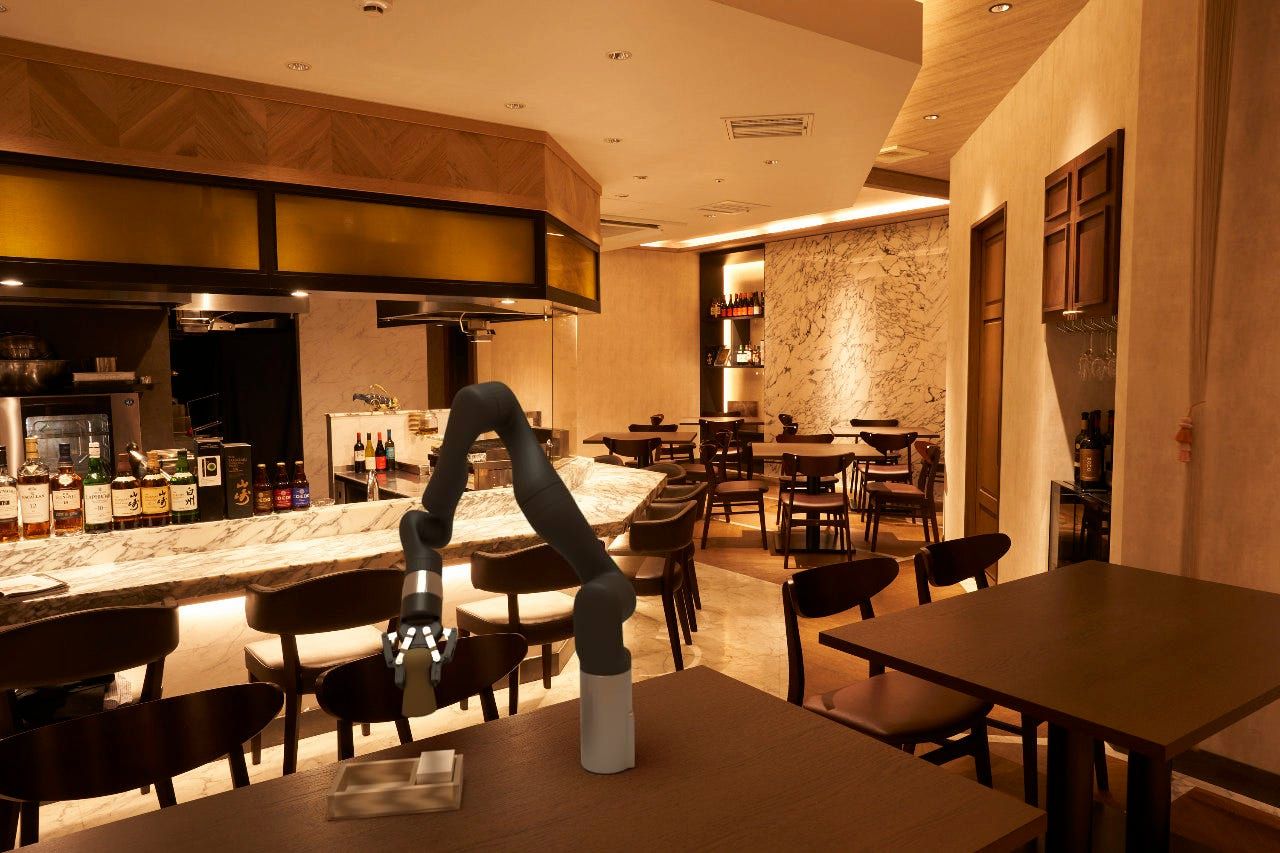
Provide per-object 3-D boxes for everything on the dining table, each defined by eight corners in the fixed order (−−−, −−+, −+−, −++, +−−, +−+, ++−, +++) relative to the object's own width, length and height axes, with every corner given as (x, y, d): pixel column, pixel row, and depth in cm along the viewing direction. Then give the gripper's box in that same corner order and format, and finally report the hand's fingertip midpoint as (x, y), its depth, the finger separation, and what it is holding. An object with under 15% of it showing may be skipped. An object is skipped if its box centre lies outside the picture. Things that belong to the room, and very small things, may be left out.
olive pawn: (427, 718, 142) (425, 655, 142) (395, 716, 143) (393, 654, 143) (442, 705, 148) (440, 645, 147) (411, 703, 149) (409, 643, 149)
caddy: (463, 777, 141) (462, 745, 141) (459, 809, 130) (458, 774, 130) (342, 787, 138) (341, 754, 138) (328, 821, 127) (327, 785, 127)
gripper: (380, 593, 151) (371, 679, 140) (459, 587, 153) (457, 673, 142) (385, 613, 157) (378, 698, 145) (462, 608, 159) (460, 692, 147)
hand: (417, 685), depth 144 cm, fingers closed on olive pawn, 5 cm apart
